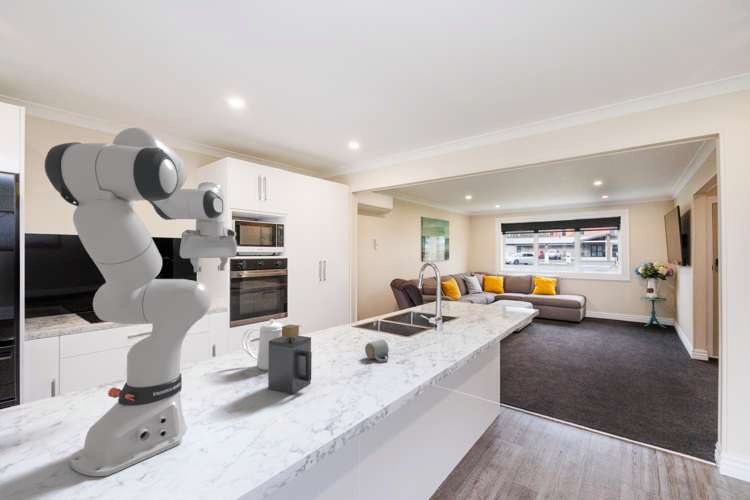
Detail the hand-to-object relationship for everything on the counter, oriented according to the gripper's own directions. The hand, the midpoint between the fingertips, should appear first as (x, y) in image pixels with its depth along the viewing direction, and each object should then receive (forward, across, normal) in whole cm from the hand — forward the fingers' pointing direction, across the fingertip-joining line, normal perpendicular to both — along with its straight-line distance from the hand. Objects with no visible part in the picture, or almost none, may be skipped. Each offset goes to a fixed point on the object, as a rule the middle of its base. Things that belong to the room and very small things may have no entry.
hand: (209, 271), depth 115 cm
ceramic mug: (+40, +51, -41) cm, 77 cm away
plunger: (+38, +11, -26) cm, 47 cm away
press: (+39, +11, -28) cm, 49 cm away
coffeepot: (+39, +24, -7) cm, 47 cm away
